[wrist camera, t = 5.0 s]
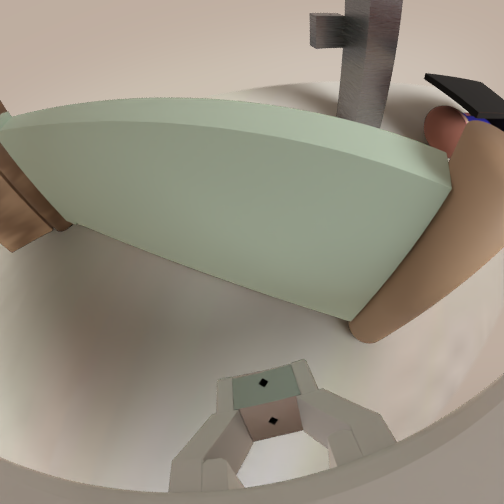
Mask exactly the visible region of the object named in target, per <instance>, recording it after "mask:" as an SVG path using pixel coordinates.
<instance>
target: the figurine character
mask: <svg viewBox="0 0 504 504" xmlns="http://www.w3.org/2000/svg"><path fill="white" fill-rule="evenodd" d="M424 79H425V80H427V81H428V82H429V83H431V84H432V85H434V86H435V87H437V88H438V89H439V90H441V91H442V92H444V93H445V94H446V95H448V96H449V97H450V98H452V99H453V100H454V101H456V102H457V103H458V104H459V105H461V106H462V107H463V108H464V109H466V110H467V111H468V112H469V113H465V114H464V113H462V112H460V111H459V110H457V109H456V108H453V107H450V106H438V107H435V108H434V109H432V110H431V111H430V112H429V113H428V114H427V116H426V118H425V122H424V134H425V137H426V140H427V142H428V144H429V145H430V146H431V147H434V148H436V149H439V150H441V151H444V152H446V153H447V158H451V156H452V154H453V152H454V150H455V148H456V145H457V143H458V141H459V139H460V137H461V135H462V133H463V130H464V128H465V126H466V124H467V123H468V122H469V121H472V120H479V121H483V122H486V123H489V124H491V125H493V126H495V127H497V128H498V129H500V130H502V131H503V132H504V100H503V99H502V98H501V97H500V96H498V95H497V94H496V93H494V92H493V91H492V90H491V89H489V88H488V87H487V86H486V85H484V84H483V83H481V82H477V81H473V80H468V79H462V78H457V77H450V76H443V75H436V74H427V73H426V74H425V78H424Z"/></svg>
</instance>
